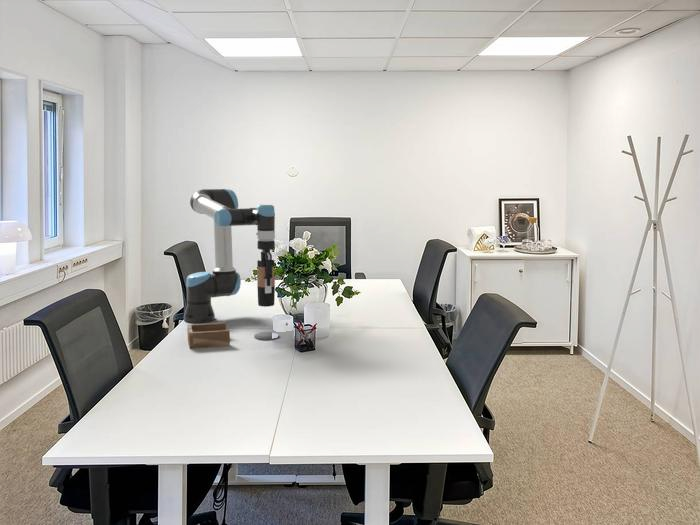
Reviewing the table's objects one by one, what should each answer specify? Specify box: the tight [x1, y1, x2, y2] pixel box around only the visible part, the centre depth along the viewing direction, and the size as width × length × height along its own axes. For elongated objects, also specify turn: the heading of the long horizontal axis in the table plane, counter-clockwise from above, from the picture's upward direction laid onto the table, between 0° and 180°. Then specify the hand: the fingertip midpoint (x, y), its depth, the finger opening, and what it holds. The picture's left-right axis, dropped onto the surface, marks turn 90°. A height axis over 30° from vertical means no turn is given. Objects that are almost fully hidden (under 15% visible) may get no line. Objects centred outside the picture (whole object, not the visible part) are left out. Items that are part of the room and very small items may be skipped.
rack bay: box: [186, 322, 231, 349], centre depth 254 cm, size 15×16×6 cm
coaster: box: [253, 331, 273, 341], centre depth 265 cm, size 11×11×1 cm
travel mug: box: [256, 259, 276, 308], centre depth 261 cm, size 8×8×20 cm
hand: (266, 291), depth 262 cm, fingers closed on travel mug, 8 cm apart
